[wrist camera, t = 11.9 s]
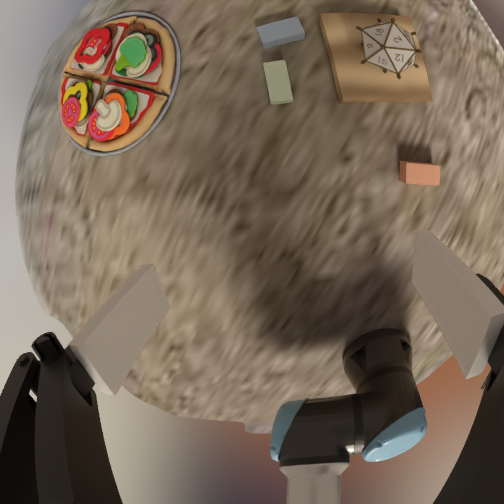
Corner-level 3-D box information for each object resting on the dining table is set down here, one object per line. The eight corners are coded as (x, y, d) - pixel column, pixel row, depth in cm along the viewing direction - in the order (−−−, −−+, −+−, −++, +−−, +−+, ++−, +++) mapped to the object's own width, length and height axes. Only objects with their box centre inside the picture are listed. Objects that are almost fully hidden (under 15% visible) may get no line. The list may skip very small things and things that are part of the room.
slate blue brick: (296, 23, 28) (297, 16, 26) (304, 39, 29) (305, 32, 27) (258, 34, 30) (255, 27, 27) (265, 49, 31) (263, 43, 28)
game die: (365, 49, 29) (368, -4, 19) (418, 71, 26) (432, 19, 17) (344, 78, 28) (346, 16, 19) (405, 104, 26) (423, 44, 16)
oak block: (423, 102, 30) (432, 100, 27) (339, 103, 33) (343, 101, 30) (402, 23, 24) (409, 17, 22) (318, 20, 27) (319, 13, 25)
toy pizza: (91, 13, 28) (77, 9, 25) (210, 22, 30) (202, 12, 26) (49, 136, 41) (35, 139, 37) (149, 175, 42) (135, 180, 38)
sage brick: (293, 102, 34) (293, 99, 31) (272, 105, 35) (270, 102, 32) (285, 65, 32) (285, 59, 29) (265, 68, 32) (262, 62, 30)
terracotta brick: (431, 163, 34) (440, 165, 31) (430, 181, 35) (439, 185, 32) (399, 160, 35) (406, 162, 32) (398, 179, 36) (405, 183, 33)
